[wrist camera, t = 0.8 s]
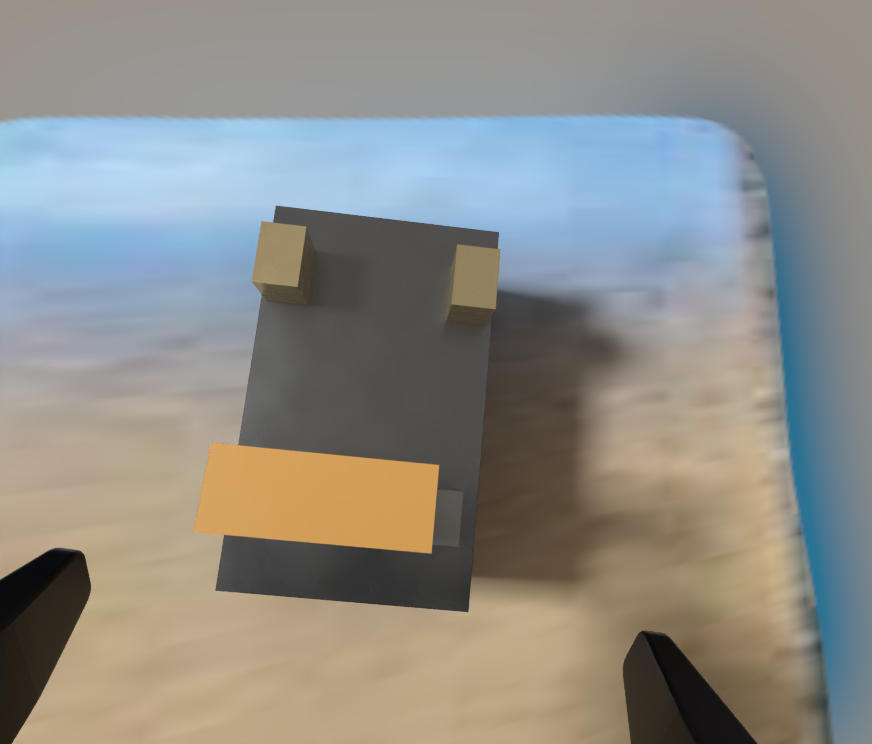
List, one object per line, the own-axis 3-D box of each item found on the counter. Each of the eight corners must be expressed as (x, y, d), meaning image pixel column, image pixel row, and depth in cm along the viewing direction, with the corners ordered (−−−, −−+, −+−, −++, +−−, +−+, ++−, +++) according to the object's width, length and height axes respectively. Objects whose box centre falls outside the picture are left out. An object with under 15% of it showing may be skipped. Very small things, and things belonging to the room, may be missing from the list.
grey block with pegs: (450, 576, 24) (477, 630, 16) (261, 559, 23) (192, 606, 15) (475, 285, 26) (509, 206, 18) (304, 266, 26) (262, 176, 18)
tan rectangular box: (417, 489, 18) (413, 536, 18) (295, 477, 18) (288, 525, 18) (439, 464, 10) (431, 553, 9) (210, 442, 10) (193, 531, 9)
